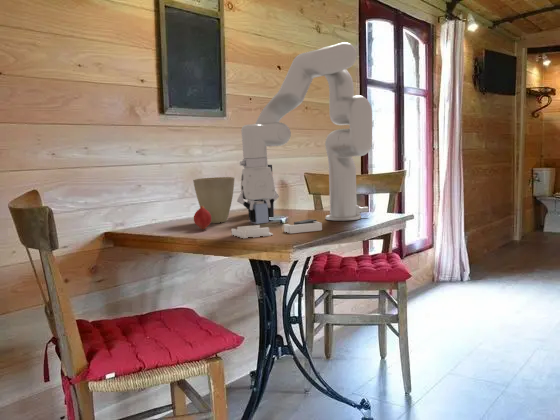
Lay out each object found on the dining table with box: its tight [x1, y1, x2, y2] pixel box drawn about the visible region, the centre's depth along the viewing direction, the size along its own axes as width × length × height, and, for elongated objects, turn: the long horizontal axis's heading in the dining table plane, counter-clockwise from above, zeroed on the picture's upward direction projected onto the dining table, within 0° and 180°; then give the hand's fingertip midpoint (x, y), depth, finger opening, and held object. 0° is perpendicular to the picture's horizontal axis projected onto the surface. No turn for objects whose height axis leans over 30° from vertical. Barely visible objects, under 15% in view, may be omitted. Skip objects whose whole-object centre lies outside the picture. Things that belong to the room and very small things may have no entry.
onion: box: [193, 206, 212, 231], centre depth 191 cm, size 6×6×8 cm
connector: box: [252, 201, 270, 225], centre depth 185 cm, size 4×5×7 cm
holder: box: [231, 224, 274, 239], centre depth 174 cm, size 10×8×2 cm
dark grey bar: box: [293, 218, 318, 225], centre depth 182 cm, size 9×3×3 cm, turn 141°
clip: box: [283, 221, 323, 234], centre depth 180 cm, size 11×4×2 cm, turn 114°
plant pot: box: [192, 176, 235, 224], centre depth 210 cm, size 15×15×16 cm
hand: (259, 220), depth 185 cm, fingers closed on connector, 4 cm apart
